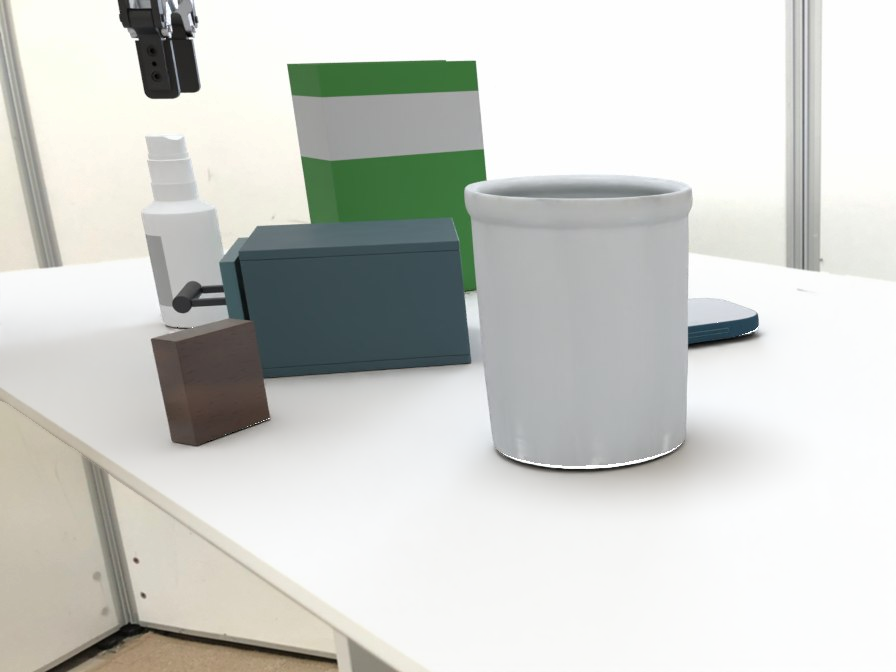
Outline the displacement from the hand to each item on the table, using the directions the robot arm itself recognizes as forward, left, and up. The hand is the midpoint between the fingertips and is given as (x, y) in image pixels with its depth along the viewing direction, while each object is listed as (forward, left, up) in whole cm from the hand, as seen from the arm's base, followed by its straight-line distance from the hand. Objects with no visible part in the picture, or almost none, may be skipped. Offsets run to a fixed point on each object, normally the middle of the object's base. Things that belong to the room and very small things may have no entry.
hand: (175, 95), depth 86 cm
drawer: (+6, +14, -22) cm, 26 cm away
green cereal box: (+14, +41, -23) cm, 49 cm away
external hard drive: (+34, +11, -23) cm, 43 cm away
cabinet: (+10, +14, -23) cm, 28 cm away
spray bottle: (-7, +32, -23) cm, 40 cm away
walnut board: (0, -8, -23) cm, 24 cm away
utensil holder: (+26, -18, -23) cm, 39 cm away
